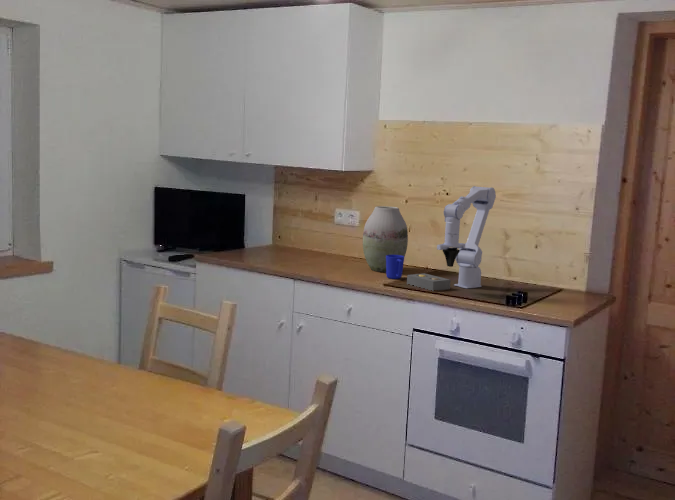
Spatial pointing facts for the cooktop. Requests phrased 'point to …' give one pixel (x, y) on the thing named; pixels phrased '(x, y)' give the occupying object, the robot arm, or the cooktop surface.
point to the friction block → (428, 282)
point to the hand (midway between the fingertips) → (449, 266)
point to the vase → (384, 236)
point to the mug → (394, 266)
